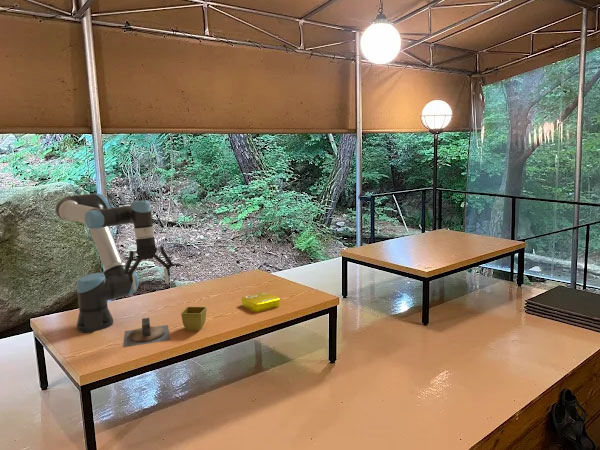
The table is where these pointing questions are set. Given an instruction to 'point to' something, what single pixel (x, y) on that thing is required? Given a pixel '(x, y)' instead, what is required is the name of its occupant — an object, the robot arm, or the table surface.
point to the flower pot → (194, 318)
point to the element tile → (260, 302)
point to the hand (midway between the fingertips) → (151, 286)
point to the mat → (164, 338)
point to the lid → (146, 332)
